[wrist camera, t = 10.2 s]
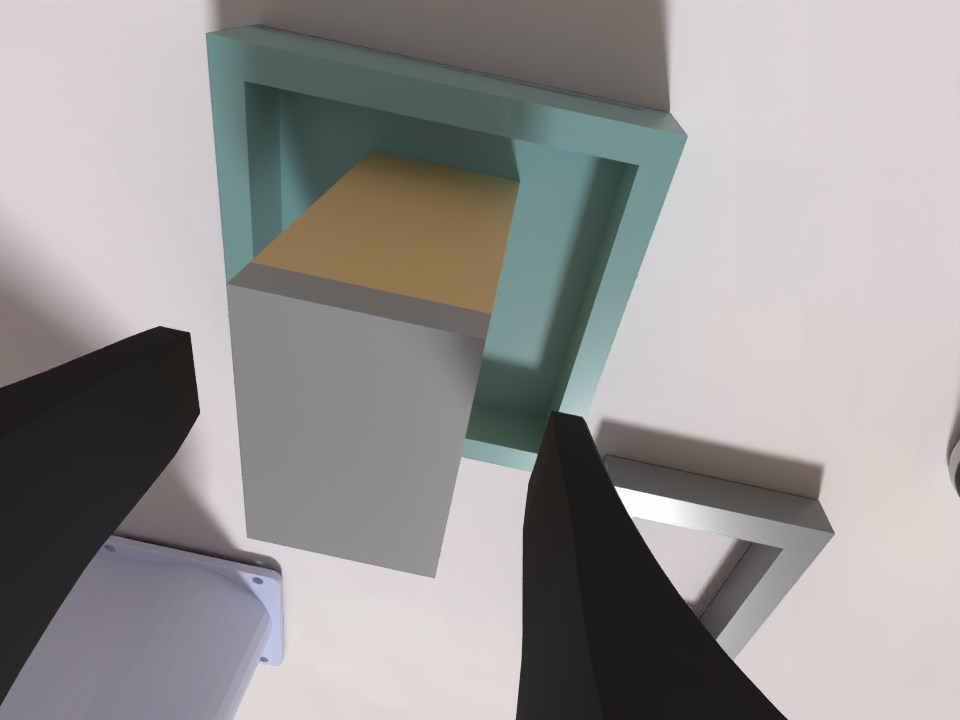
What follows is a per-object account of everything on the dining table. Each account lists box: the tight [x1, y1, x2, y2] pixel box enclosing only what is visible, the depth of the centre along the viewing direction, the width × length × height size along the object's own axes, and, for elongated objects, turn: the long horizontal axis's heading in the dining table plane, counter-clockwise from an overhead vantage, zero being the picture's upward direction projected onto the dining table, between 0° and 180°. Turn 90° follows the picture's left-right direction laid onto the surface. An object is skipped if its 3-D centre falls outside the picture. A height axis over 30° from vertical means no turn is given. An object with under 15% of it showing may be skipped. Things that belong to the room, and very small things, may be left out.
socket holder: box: [603, 455, 835, 660], centre depth 23 cm, size 8×10×2 cm
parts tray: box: [206, 25, 688, 472], centre depth 17 cm, size 11×11×2 cm
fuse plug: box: [226, 150, 520, 578], centre depth 14 cm, size 4×6×8 cm, turn 170°
